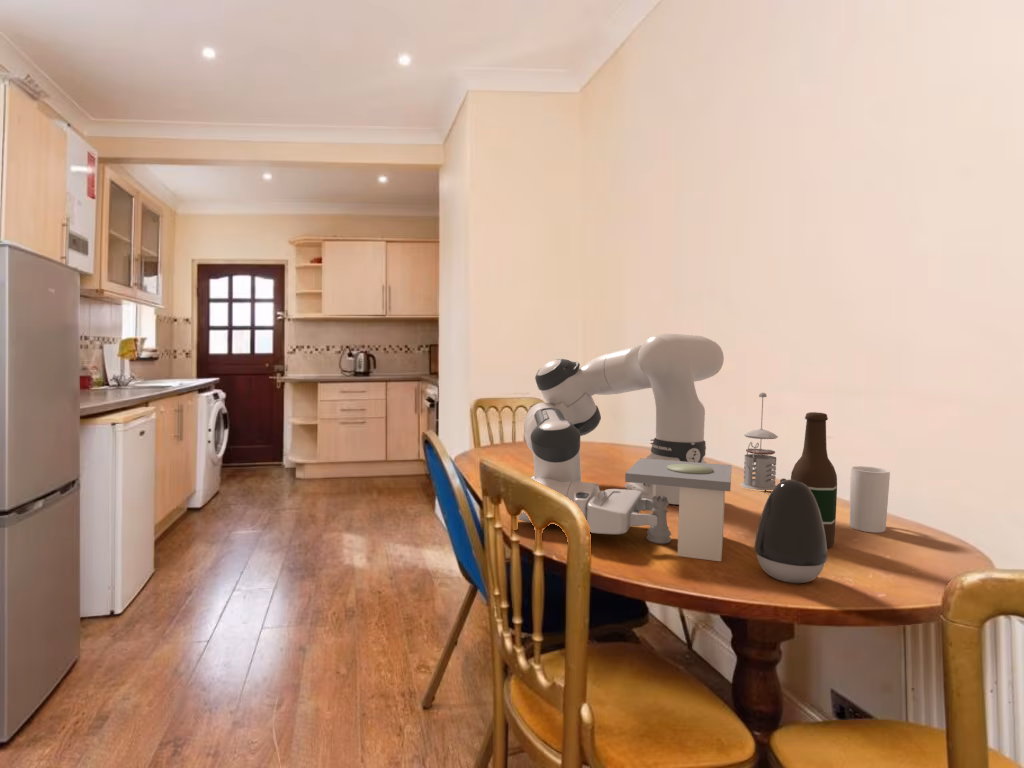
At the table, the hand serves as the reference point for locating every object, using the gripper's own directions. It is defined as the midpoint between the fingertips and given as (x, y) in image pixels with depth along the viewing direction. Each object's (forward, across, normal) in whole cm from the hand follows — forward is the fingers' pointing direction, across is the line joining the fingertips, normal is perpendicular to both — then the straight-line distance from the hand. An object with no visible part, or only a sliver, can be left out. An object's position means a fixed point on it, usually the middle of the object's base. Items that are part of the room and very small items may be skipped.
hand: (660, 513), depth 110 cm
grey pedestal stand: (+3, 0, -5) cm, 6 cm away
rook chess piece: (0, 0, -5) cm, 5 cm away
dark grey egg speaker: (+21, +10, -5) cm, 24 cm away
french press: (+18, -58, -5) cm, 61 cm away
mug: (+38, -28, -5) cm, 47 cm away
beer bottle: (+26, -10, -5) cm, 28 cm away
